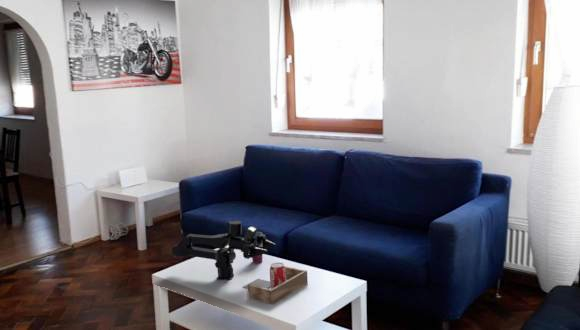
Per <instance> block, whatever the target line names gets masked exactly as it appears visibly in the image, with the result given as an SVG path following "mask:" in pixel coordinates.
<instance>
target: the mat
mask: <svg viewBox="0 0 580 330" xmlns="http://www.w3.org/2000/svg"><path fill="white" fill-rule="evenodd" d="M248 284H252V285H256V286H260V287H264V288H268V289H271V286H270V280H265V279H261V278H256V279H255V280H253V281H250V282H249V283H247V284H245V285H243V286H242V288H244V289H247V290H248Z"/></svg>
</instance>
